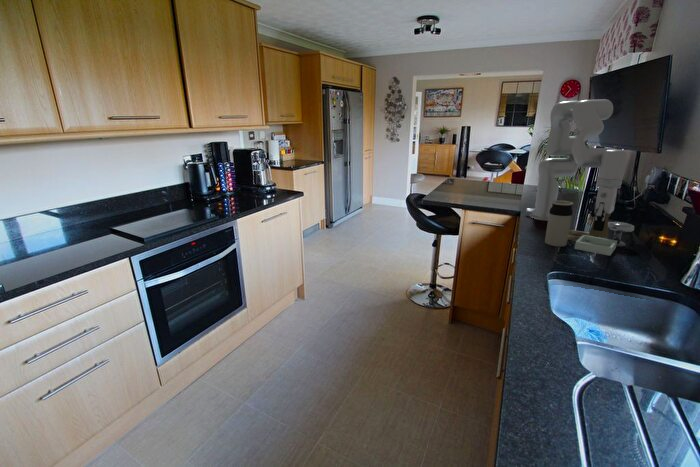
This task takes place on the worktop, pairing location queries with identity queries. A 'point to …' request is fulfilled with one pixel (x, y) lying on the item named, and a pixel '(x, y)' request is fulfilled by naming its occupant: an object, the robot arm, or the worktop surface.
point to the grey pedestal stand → (620, 231)
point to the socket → (577, 233)
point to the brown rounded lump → (605, 231)
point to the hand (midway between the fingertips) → (599, 228)
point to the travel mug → (559, 223)
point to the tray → (596, 245)
